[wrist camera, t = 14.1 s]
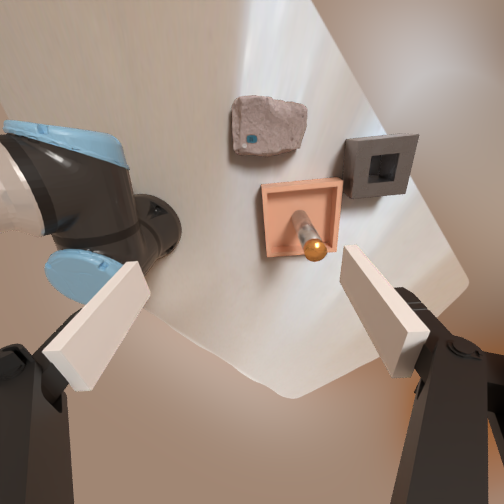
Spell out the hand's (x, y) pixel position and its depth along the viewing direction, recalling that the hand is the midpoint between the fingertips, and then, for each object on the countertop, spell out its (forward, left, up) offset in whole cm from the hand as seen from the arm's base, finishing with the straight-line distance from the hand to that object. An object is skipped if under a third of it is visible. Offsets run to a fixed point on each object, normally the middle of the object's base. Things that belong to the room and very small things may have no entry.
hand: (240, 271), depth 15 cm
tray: (+10, -11, -37) cm, 40 cm away
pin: (+10, -11, -36) cm, 39 cm away
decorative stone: (+4, +8, -37) cm, 38 cm away
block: (+24, -1, -37) cm, 44 cm away
